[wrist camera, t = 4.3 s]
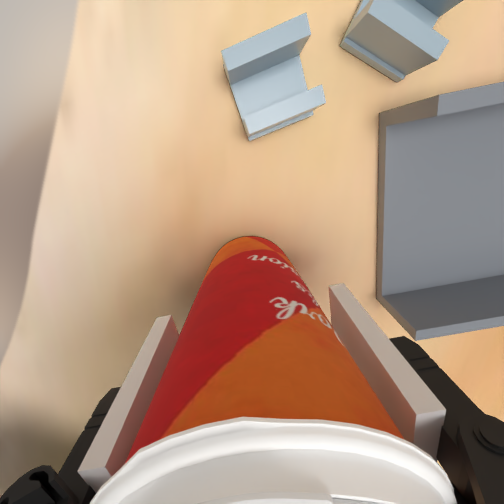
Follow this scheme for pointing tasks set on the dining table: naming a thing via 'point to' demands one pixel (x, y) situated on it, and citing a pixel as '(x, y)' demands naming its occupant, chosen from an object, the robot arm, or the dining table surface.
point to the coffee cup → (267, 405)
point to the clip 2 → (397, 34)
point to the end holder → (442, 213)
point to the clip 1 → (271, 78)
